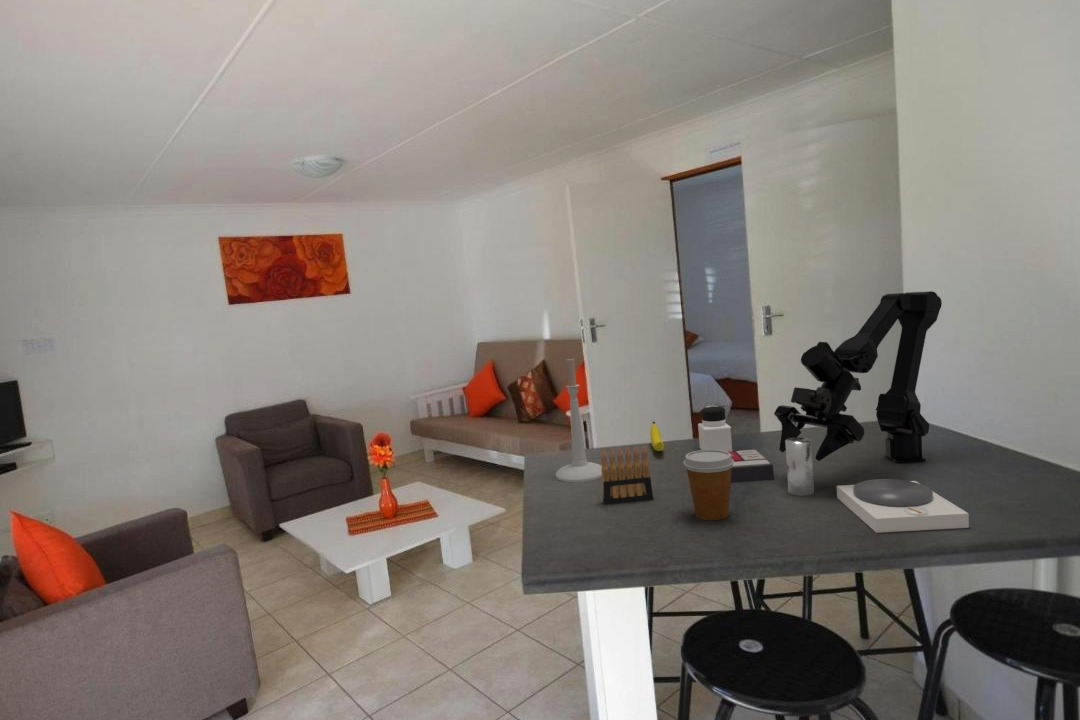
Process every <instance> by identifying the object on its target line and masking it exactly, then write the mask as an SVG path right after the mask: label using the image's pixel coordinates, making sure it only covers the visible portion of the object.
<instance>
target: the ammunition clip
mask: <svg viewBox="0 0 1080 720" xmlns="http://www.w3.org/2000/svg"><path fill="white" fill-rule="evenodd" d="M633 449H634V450H633V461H632V455H631V451H630V448H629V447H628V446H627V447H626V449H625V462H624V457H623V456H624V455H623V451H622V449H621V448H620V447H619V448H618V449H617V462H616V456H615V453H614V450H613V448H610V449H609V465H608V458H607V453H606V451H605V449H604V448H603V449H602V451H601V466H602V468H601V471H602V477H601V480H602V501H603V502H602V503H603V504H604V505H605V506H608V505H614V504H615V505H617V504H625V503H626V504H627V503H637V502H644V501H645V502H646V501H653V500H654V494H653V487H652V480H651V469H650V463H649V462H650V461H649V458H648V450H647V447H646V445H644V444H643V446H642V448H641V449H642V450H641V457H642V458H641V459H640V453H639V450H638V447H637V446H636V445H635V446H634V448H633ZM641 461H642V462H641ZM632 462H633V463H632Z"/></svg>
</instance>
